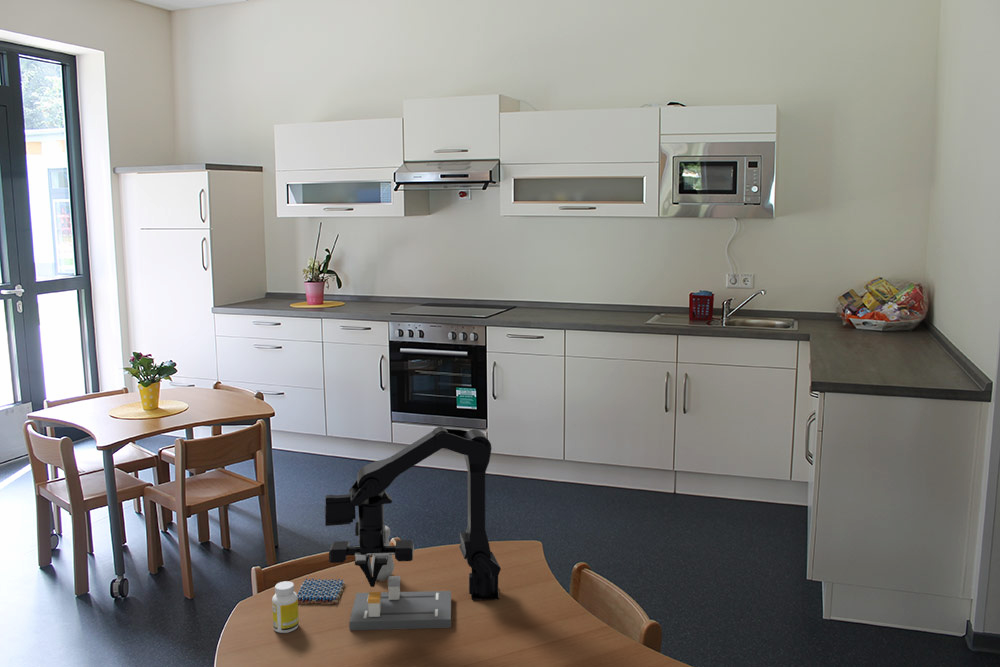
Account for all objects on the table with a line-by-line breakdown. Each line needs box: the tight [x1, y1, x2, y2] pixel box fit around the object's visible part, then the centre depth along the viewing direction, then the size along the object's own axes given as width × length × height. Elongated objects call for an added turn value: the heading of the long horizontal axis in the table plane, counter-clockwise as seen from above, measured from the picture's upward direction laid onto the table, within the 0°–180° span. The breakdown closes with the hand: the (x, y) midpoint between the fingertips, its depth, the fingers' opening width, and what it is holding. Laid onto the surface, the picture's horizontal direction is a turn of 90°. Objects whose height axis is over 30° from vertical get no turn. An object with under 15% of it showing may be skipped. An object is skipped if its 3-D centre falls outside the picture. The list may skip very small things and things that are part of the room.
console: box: [348, 590, 452, 631], centre depth 182 cm, size 22×13×2 cm, turn 93°
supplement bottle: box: [271, 580, 300, 634], centre depth 175 cm, size 5×5×10 cm
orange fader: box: [368, 591, 382, 617], centre depth 178 cm, size 3×3×4 cm
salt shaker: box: [371, 525, 395, 582], centre depth 199 cm, size 6×6×13 cm
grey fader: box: [387, 575, 401, 600], centre depth 185 cm, size 3×3×4 cm
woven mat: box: [297, 578, 346, 605], centre depth 191 cm, size 10×11×2 cm
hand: (372, 586), depth 185 cm, fingers closed
